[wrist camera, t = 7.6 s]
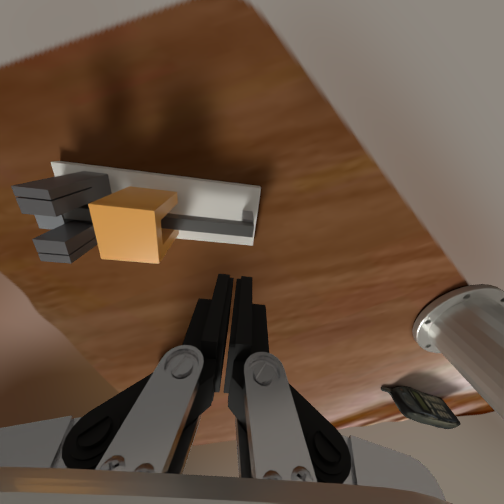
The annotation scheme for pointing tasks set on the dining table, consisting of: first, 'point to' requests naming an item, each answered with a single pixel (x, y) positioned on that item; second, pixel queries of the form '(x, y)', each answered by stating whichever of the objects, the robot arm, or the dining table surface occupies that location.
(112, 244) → the orange bracket
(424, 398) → the mobile phone
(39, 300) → the dining table surface
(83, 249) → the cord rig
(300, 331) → the dining table surface
